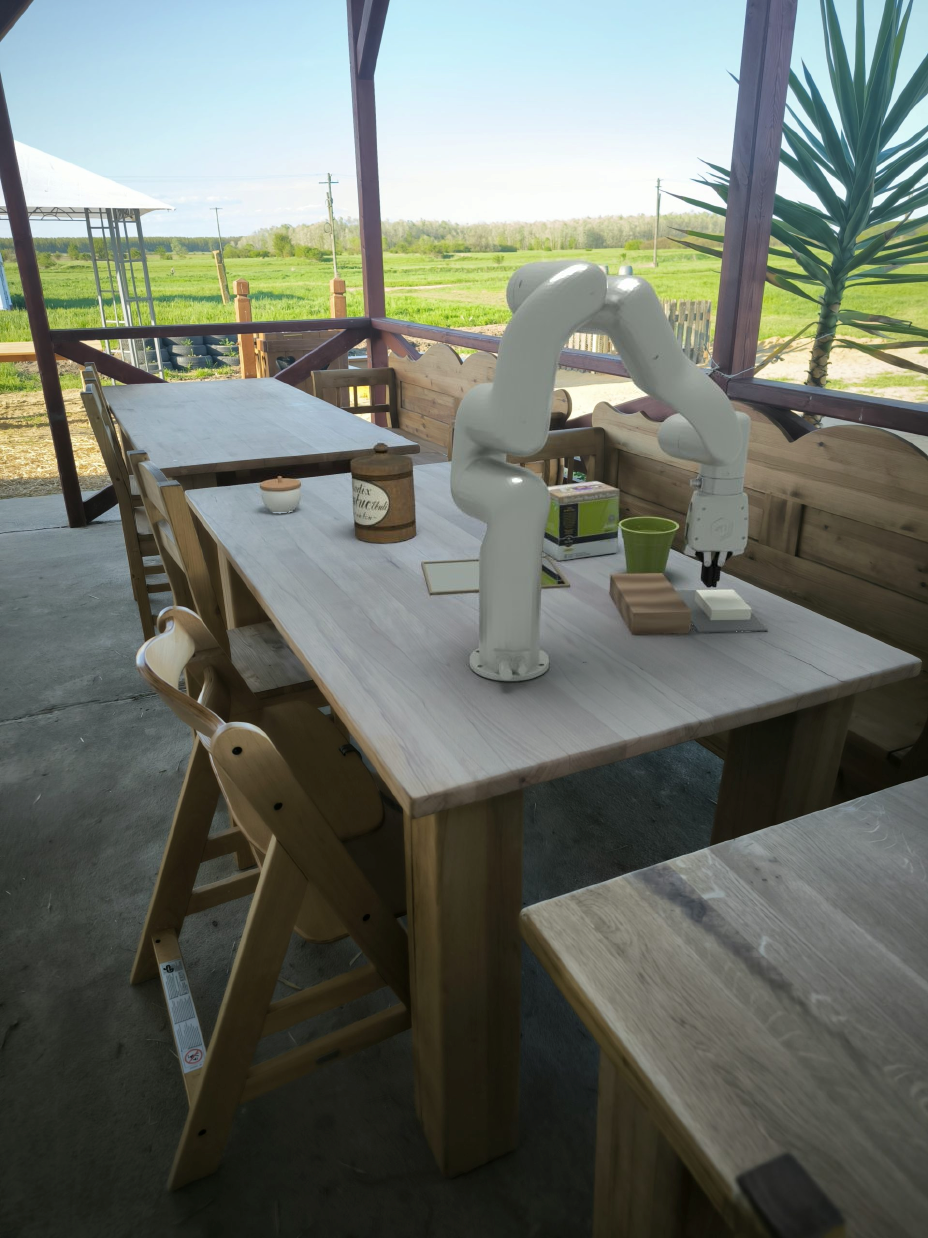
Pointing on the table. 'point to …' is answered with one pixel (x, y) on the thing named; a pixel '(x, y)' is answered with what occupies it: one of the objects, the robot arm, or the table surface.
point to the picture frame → (476, 576)
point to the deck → (649, 604)
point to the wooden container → (383, 497)
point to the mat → (707, 625)
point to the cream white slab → (723, 605)
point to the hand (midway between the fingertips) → (709, 584)
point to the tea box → (582, 520)
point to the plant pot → (647, 543)
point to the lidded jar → (281, 494)
